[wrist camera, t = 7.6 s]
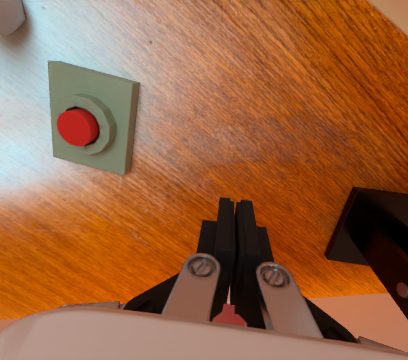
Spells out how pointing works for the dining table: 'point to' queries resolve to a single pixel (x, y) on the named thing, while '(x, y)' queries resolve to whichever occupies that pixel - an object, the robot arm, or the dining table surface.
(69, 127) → the button
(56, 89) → the button box
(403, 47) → the dining table surface
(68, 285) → the dining table surface
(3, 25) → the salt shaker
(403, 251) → the bracket
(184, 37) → the dining table surface
